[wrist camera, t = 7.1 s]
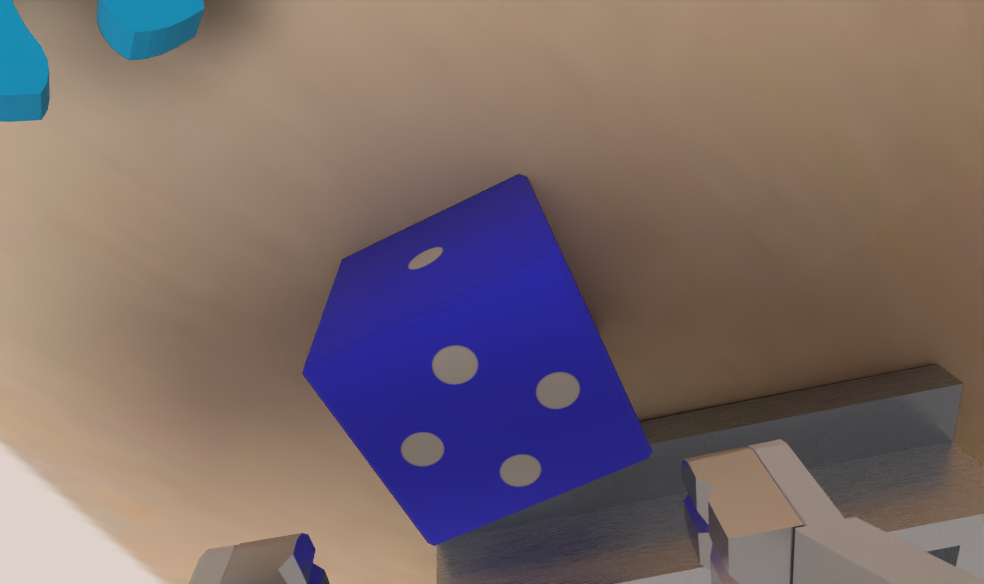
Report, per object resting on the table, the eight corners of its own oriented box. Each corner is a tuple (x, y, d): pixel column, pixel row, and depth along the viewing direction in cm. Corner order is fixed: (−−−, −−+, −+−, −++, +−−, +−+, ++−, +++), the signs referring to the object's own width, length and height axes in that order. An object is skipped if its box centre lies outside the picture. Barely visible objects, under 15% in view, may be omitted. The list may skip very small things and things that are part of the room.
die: (524, 169, 15) (560, 250, 10) (599, 334, 17) (657, 460, 12) (337, 259, 15) (296, 372, 11) (433, 407, 18) (431, 552, 13)
